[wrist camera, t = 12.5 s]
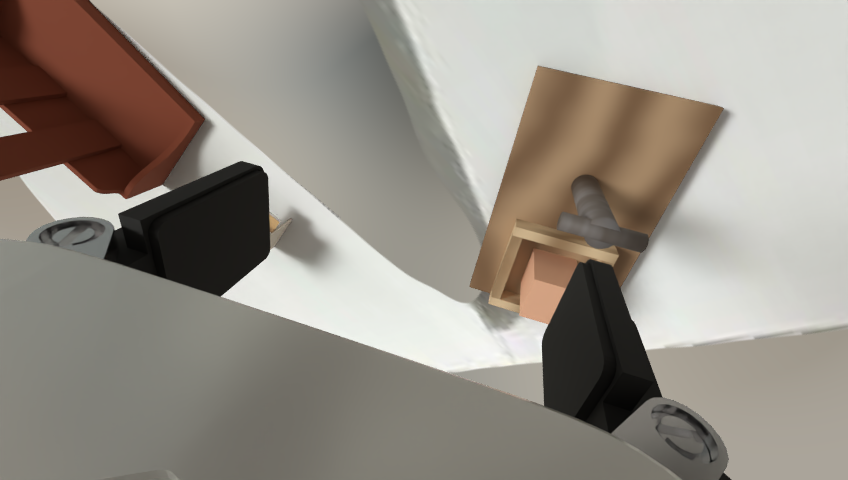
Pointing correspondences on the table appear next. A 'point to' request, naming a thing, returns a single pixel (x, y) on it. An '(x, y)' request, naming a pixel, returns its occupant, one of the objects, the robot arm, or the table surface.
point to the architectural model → (275, 222)
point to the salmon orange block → (544, 284)
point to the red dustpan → (86, 100)
